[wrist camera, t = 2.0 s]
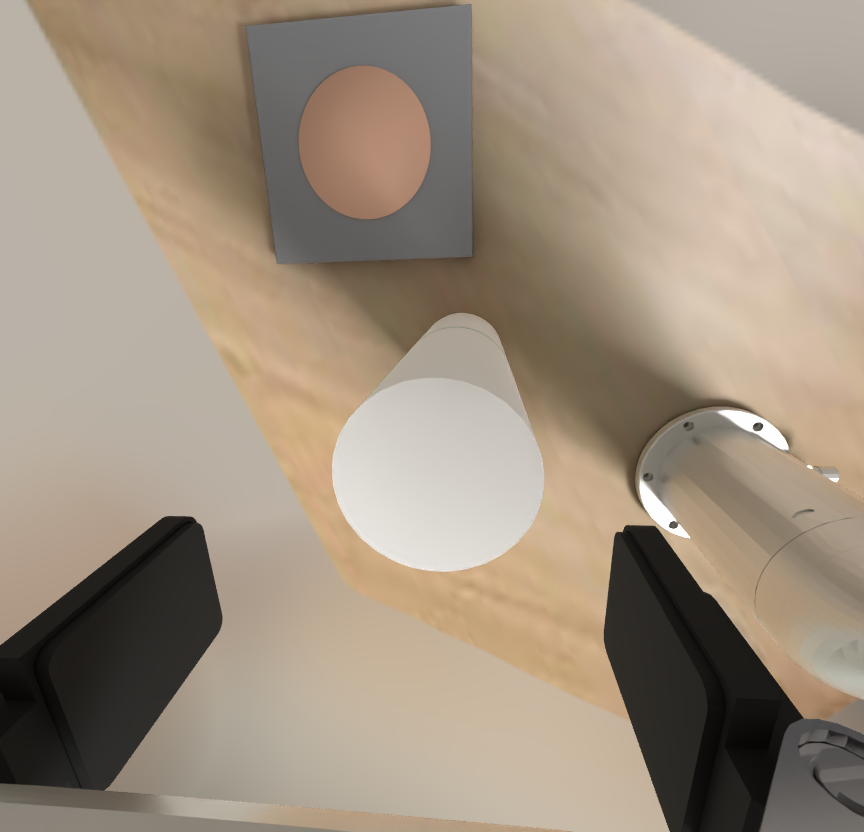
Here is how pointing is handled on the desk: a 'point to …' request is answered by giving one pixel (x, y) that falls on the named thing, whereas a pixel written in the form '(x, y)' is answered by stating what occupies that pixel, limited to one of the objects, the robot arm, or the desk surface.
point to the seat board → (367, 134)
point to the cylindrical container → (442, 454)
